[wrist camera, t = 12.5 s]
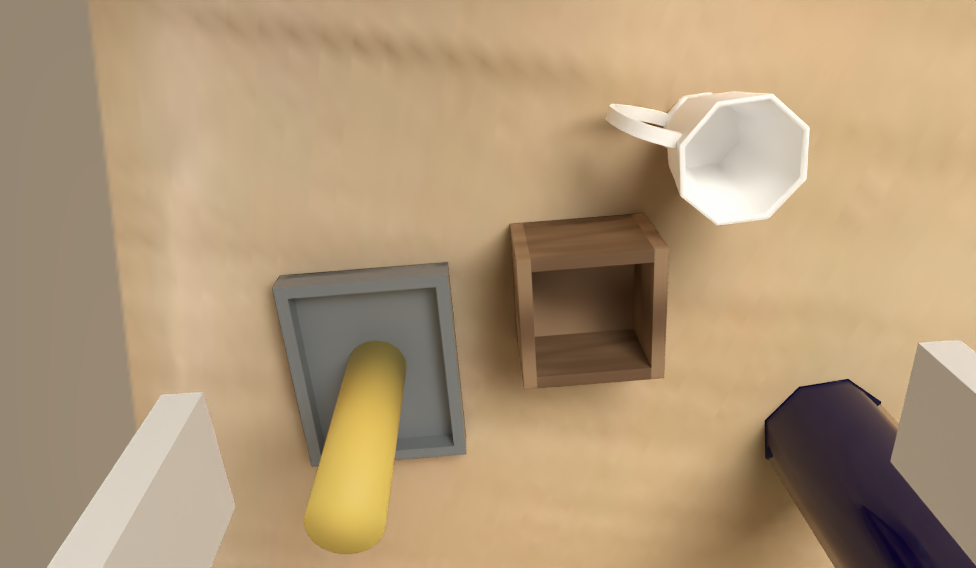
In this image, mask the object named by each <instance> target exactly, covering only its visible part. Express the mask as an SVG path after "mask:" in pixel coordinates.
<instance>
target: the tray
mask: <svg viewBox="0 0 976 568" xmlns="http://www.w3.org/2000/svg"><path fill="white" fill-rule="evenodd" d="M272 289H273V294H274V298H275V303H276V307H277V312H278V316H279V321H280V325H281V330H282V334H283V339H284V343H285V348H286V353H287V357H288V362H289V366H290V371H291V375H292V380H293V384H294V389H295V393H296V398H297V402H298V407H299V411H300V416H301V421H302V425H303V430H304V434H305V439H306V443H307V448H308V452H309V457H310V461H311V466H312V467H313V466H319V463H320V459H321V456H322V452H323V449H324V445H325V441H326V438H327V434H328V431H329V427H330V424H331V420H332V417H333V413H334V410H335V406H336V402H337V399H338V395H339V392H340V388H341V385H342V381H343V378H344V374H345V370H346V367H347V363H348V360H349V357H350V355H351V353H352V352H353V350H354V349H355V348H356V347H358V346H359V345H361V344H363V343H365V342H369V341H384V342H387V343H390V344H392V345H394V346H395V347H396V348H398V349H399V350H400V351H401V353H402V354H403V356H404V357H405V360H406V365H407V369H406V377H405V384H404V392H403V399H402V407H401V414H400V422H399V429H398V437H397V444H396V452H395V459H394V460H401V459H414V458H426V457H439V456H451V455H464V454H466V431H465V421H464V412H463V402H462V393H461V383H460V373H459V364H458V354H457V345H456V335H455V325H454V316H453V306H452V297H451V287H450V278H449V268H448V262H443V263H431V264H418V265H406V266H393V267H380V268H368V269H355V270H343V271H330V272H318V273H305V274H293V275H280V276H279V278H278V280H277V281H276V283H275V285H274V287H273V288H272Z"/></svg>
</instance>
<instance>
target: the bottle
mask: <svg viewBox="0 0 976 568" xmlns="http://www.w3.org/2000/svg"><path fill="white" fill-rule="evenodd" d="M898 427H899V424H898V423H897V421H896V420H895V419H894V418H893V417H892V416H891V415H890V414H889V413H888V412H887V411H886V410H885V408H884V407H883V406H882V405H881V401H879V400H878V399H876V398H875V397H873V396H872V395H871V394H869V393H868V392H866V391H865V390H863V389H862V388H861V387H859V386H858V385H856V384H855V383H853V382H852V381H850V380H849V379H845V380H839V381H833V382H827V383H820V384H814V385H808V386H802V387H799V388H798V389H797V390H796V391H795V392H794V393H793V394H792V395H791V396H789V397H788V398H787V399H786V400H785V401H784V402H783V403H782V404H781V405H780V406H779V407H778V408H777V409H776V410H775V411H774V412H773V413H772V414H771V415H770V416H769V417H768V418H767V419H766V420H765V458H766V459H767V460H769V461H770V463H771V464H772V466H773V468H774V469H775V471H776V473H777V474H778V476H779V477H780V479H781V481H782V482H783V484H784V486H785V487H786V489H787V490H788V492H789V494H790V495H791V497H792V499H793V500H794V502H795V504H796V505H797V507H798V508H799V510H800V512H801V513H802V515H803V517H804V518H805V520H806V521H807V523H808V525H809V526H810V528H811V530H812V531H813V533H814V534H815V536H816V538H817V539H818V541H819V543H820V544H821V546H822V547H823V549H824V551H825V552H826V554H827V556H828V557H829V559H830V561H831V562H832V564H833V565H834V567H835V568H976V565H975V564H974V563H973V562H972V560H971V559H970V558H969V557H968V556H967V554H966V553H965V552H964V551H963V549H962V548H961V547H960V546H959V545H958V543H957V542H956V541H955V540H954V538H953V537H952V536H951V535H950V534H949V532H948V531H947V530H946V529H945V528H944V526H943V525H942V524H941V523H940V521H939V520H938V519H937V518H936V517H935V515H934V514H933V513H932V512H931V510H930V509H929V508H928V507H927V506H926V504H925V503H924V502H923V501H922V500H921V498H920V497H919V496H918V495H917V493H916V492H915V491H914V490H913V489H912V487H911V486H910V485H909V484H908V482H907V481H906V480H905V479H904V478H903V476H902V475H901V474H900V473H899V472H898V470H897V469H896V468H895V467H894V465H893V464H892V463H891V462H890V461H891V457H892V453H893V448H894V444H895V440H896V436H897V431H898Z"/></svg>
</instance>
